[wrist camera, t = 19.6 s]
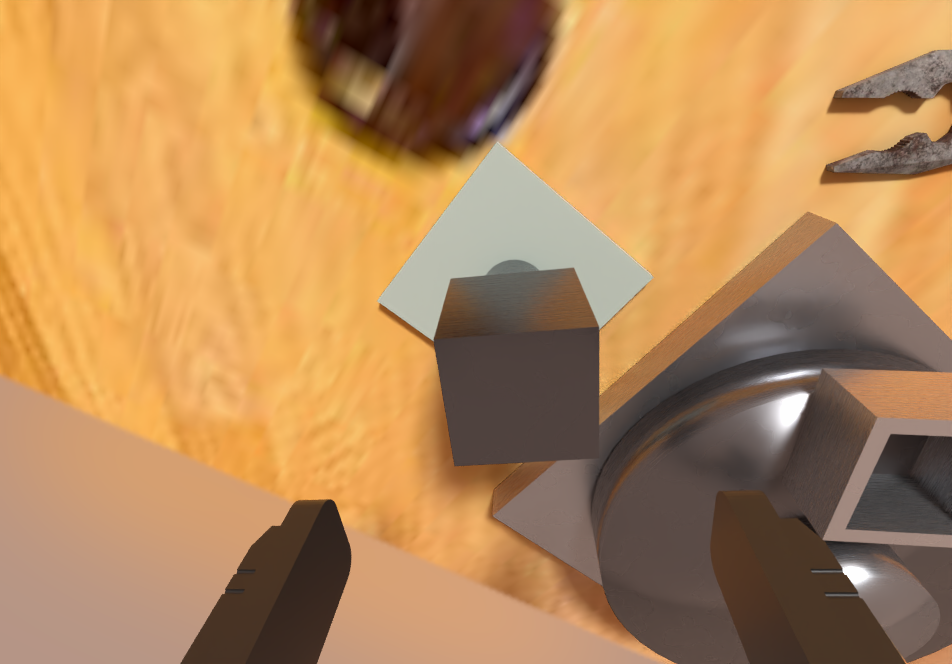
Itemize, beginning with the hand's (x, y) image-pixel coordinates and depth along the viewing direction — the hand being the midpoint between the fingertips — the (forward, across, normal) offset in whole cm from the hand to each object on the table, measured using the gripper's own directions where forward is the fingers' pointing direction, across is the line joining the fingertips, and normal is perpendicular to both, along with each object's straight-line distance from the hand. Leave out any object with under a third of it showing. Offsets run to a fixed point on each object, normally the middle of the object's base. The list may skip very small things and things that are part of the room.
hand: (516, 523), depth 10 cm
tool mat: (+14, 0, 0) cm, 14 cm away
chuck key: (+13, 0, 0) cm, 13 cm away
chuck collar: (+12, -12, +12) cm, 21 cm away
